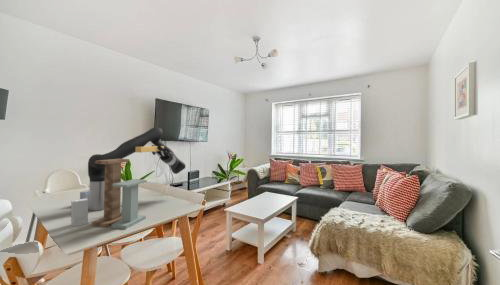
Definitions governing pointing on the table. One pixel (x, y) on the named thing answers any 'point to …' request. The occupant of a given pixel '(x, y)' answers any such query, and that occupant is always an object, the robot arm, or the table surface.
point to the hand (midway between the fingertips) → (155, 146)
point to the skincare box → (79, 212)
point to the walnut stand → (111, 192)
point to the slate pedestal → (129, 204)
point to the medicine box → (84, 195)
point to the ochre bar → (147, 149)
